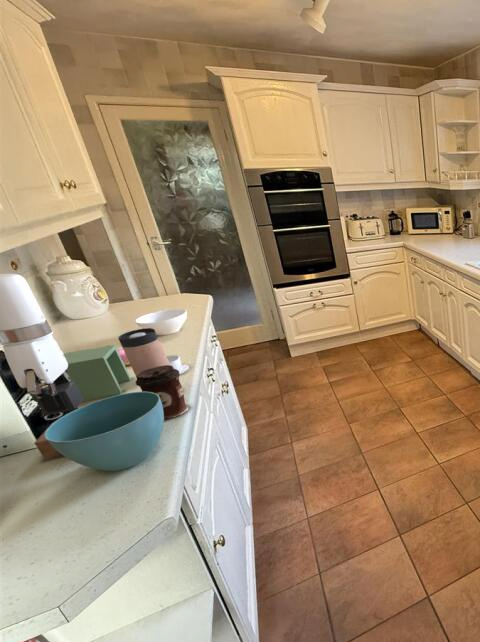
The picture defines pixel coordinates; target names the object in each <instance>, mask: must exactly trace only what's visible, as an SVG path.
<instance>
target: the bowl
mask: <svg viewBox="0 0 480 642" xmlns="http://www.w3.org/2000/svg"><path fill="white" fill-rule="evenodd" d="M187 318H188V312H187V310H186V309H183V308H172V309H163V310H158V311H154V312H151V313H148V314H144V315H142V316H140V317H138V318H136V319H135V324H136V325H137V326H138V327H139V328H140V329H145V328H152V329H154V330H155V332H156V334H157V336H167V335H171V334H175V333H177V332H179V331H180V330H181V328H182V326H183V325H184V323H185V322H186V320H187Z"/></svg>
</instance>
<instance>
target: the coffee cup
mask: <svg viewBox="0 0 480 642" xmlns="http://www.w3.org/2000/svg"><path fill="white" fill-rule="evenodd" d="M135 385H136V386H137V387H139V389H140V391H141V392H153V393H156V394H157V395H158V396H159V397H160V399H161V402H162V406H163V413H164V420H166V419H171V418H175V417H178V416H182V415H183V414H185V413H186V412H187V411H188V410H189V407H188V406H187V404H186V399H185V394H184V389H183V386H182V384H181V382H180V374H179V371H178V370H177V369H174V368H173V366H170V365H165V366H158V367H155V368H151V369H147V370H144V371H142V372H140V373H139V374H138V375H137V378H136V380H135Z"/></svg>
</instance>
